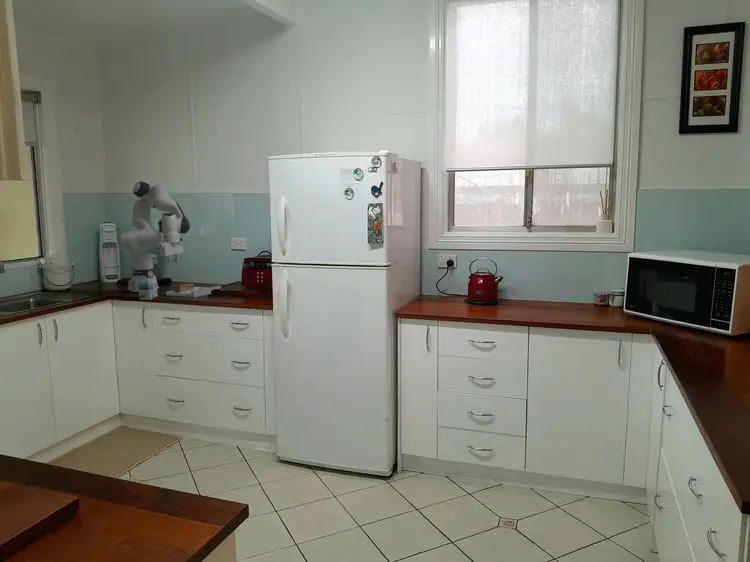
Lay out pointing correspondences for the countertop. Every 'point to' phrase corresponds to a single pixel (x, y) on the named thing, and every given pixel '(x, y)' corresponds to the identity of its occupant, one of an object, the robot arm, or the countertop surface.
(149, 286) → the light bulb box
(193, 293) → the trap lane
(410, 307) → the countertop surface
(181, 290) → the walnut block
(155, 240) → the robot arm
